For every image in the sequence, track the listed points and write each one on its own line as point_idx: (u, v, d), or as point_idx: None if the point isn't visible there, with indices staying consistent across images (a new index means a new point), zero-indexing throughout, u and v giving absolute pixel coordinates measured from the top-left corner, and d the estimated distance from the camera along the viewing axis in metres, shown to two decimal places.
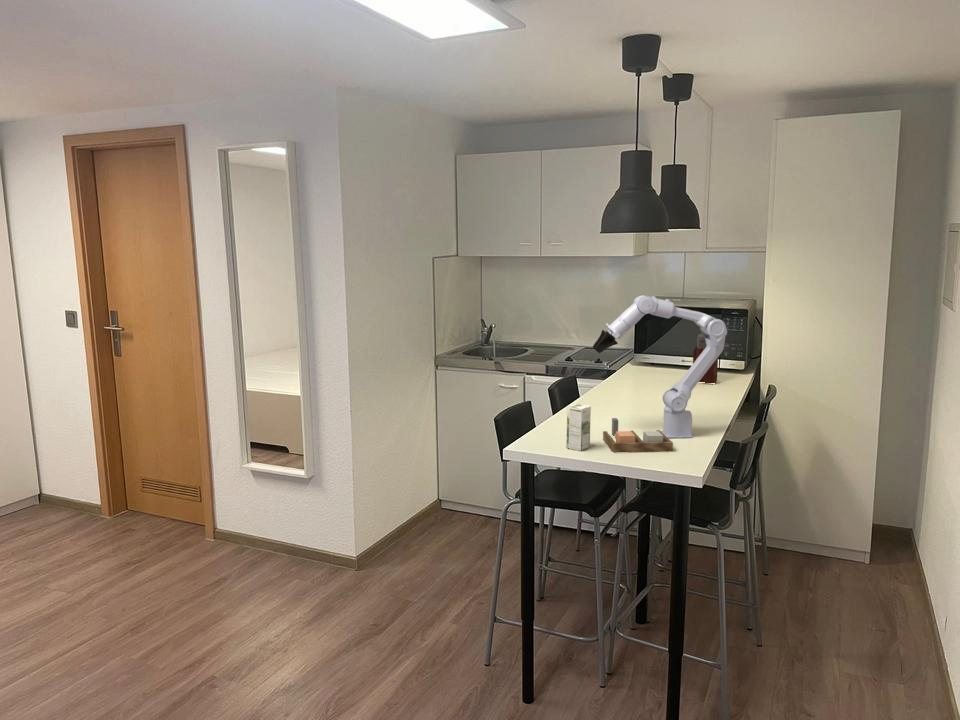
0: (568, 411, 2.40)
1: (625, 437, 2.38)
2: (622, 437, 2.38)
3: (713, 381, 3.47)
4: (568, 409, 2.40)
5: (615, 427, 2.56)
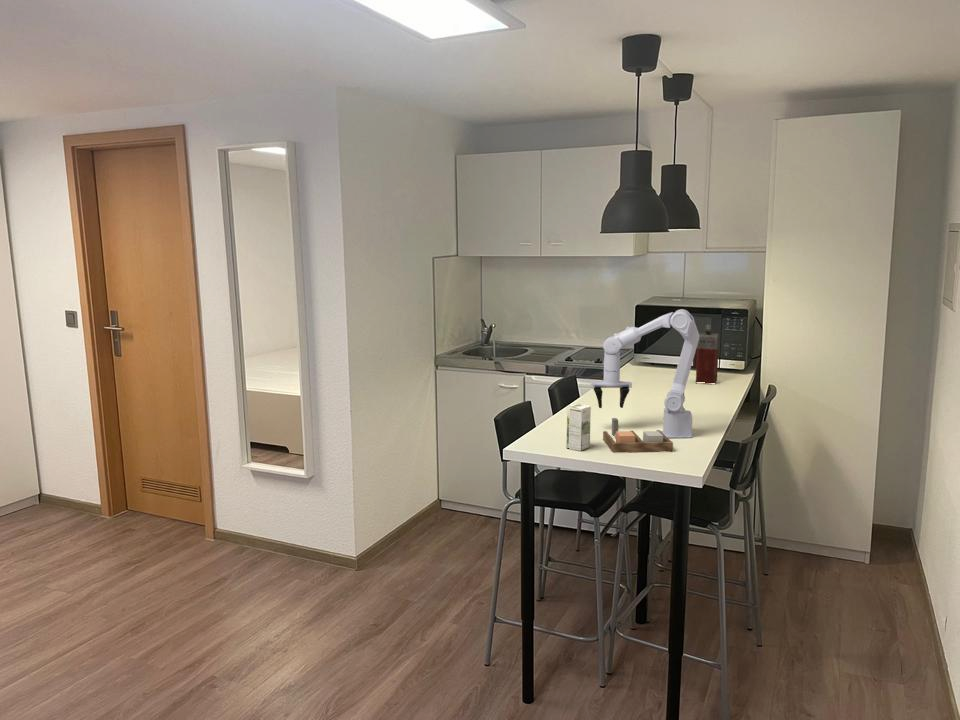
0: (568, 411, 2.40)
1: (625, 437, 2.38)
2: (622, 437, 2.38)
3: (713, 381, 3.47)
4: (568, 409, 2.40)
5: (615, 427, 2.56)
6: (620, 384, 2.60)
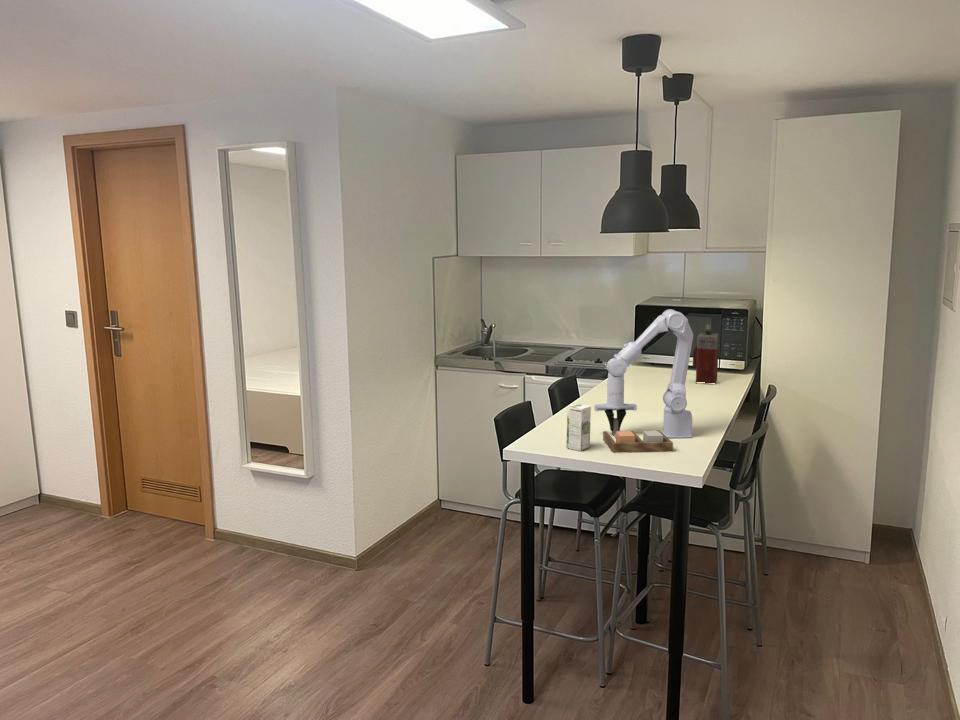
0: (568, 411, 2.40)
1: (625, 437, 2.38)
2: (622, 437, 2.38)
3: (713, 381, 3.47)
4: (568, 409, 2.40)
5: (615, 427, 2.56)
6: (624, 407, 2.54)
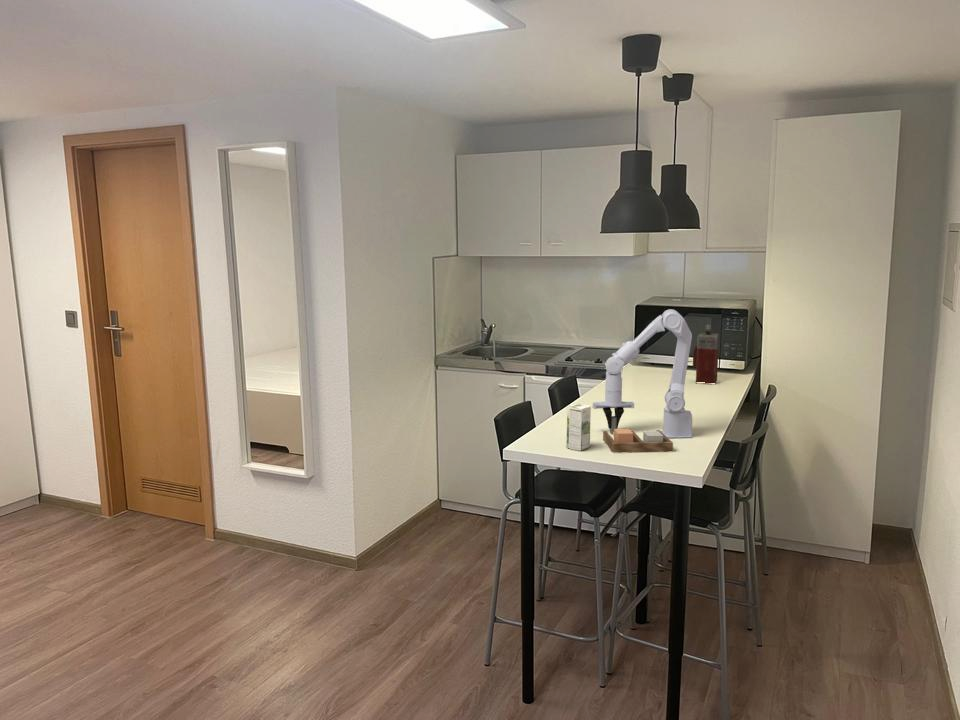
0: (568, 411, 2.40)
1: (623, 435, 2.41)
2: (620, 435, 2.41)
3: (713, 381, 3.47)
4: (568, 409, 2.40)
5: (613, 425, 2.59)
6: (622, 405, 2.57)
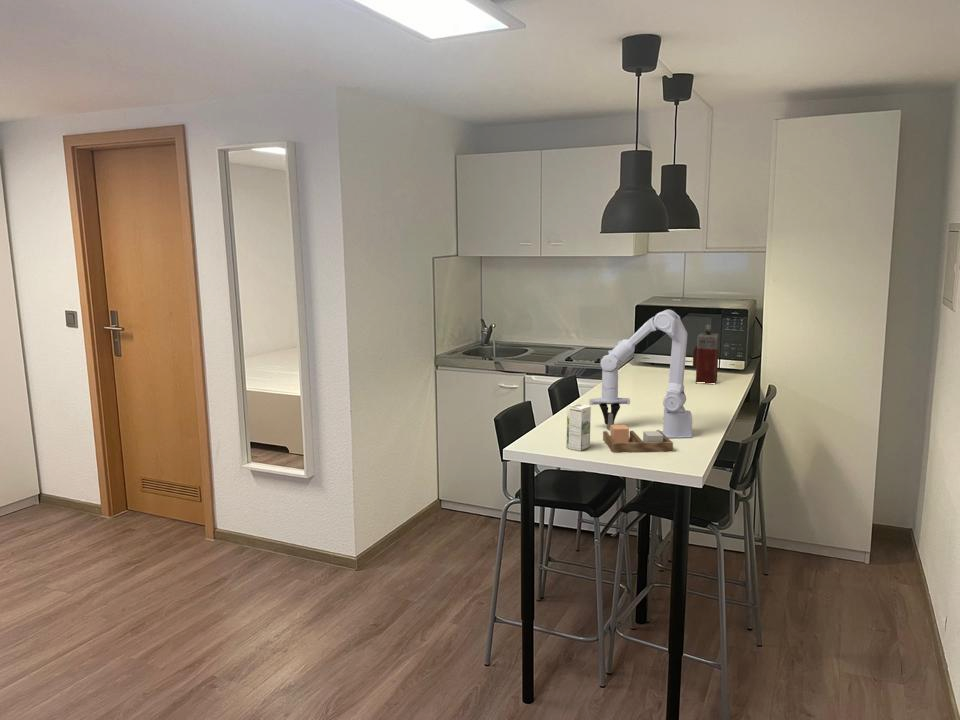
0: (568, 411, 2.40)
1: (619, 430, 2.47)
2: (616, 430, 2.47)
3: (713, 381, 3.47)
4: (568, 409, 2.40)
5: (610, 421, 2.64)
6: (618, 401, 2.64)
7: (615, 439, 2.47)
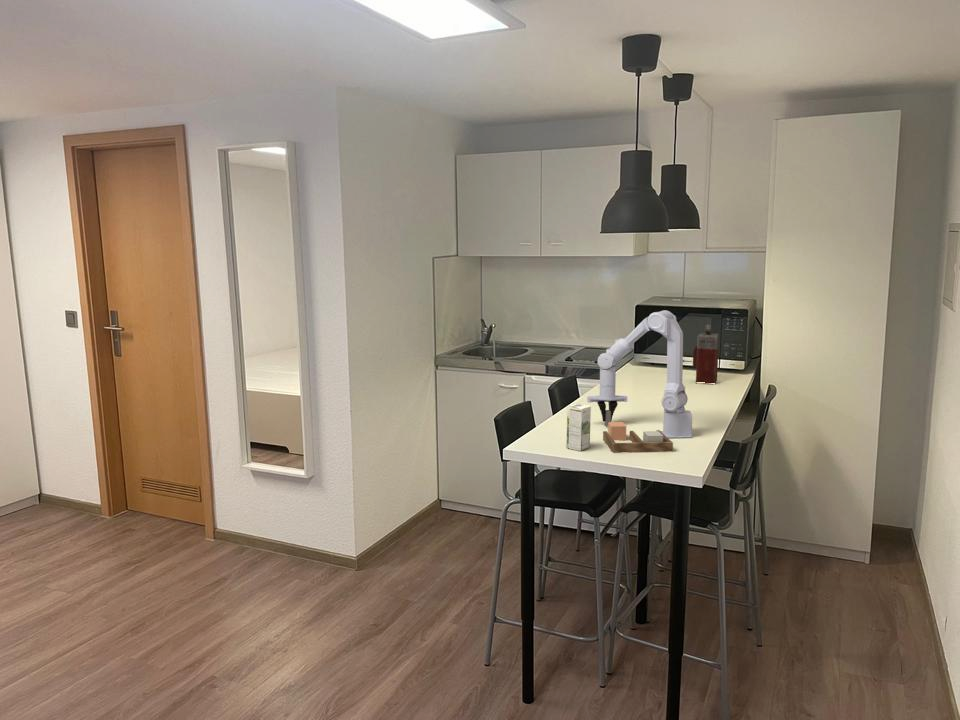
0: (568, 411, 2.40)
1: (617, 427, 2.51)
2: (614, 427, 2.51)
3: (713, 381, 3.47)
4: (568, 409, 2.40)
5: (608, 418, 2.68)
6: (616, 398, 2.68)
7: (613, 436, 2.51)
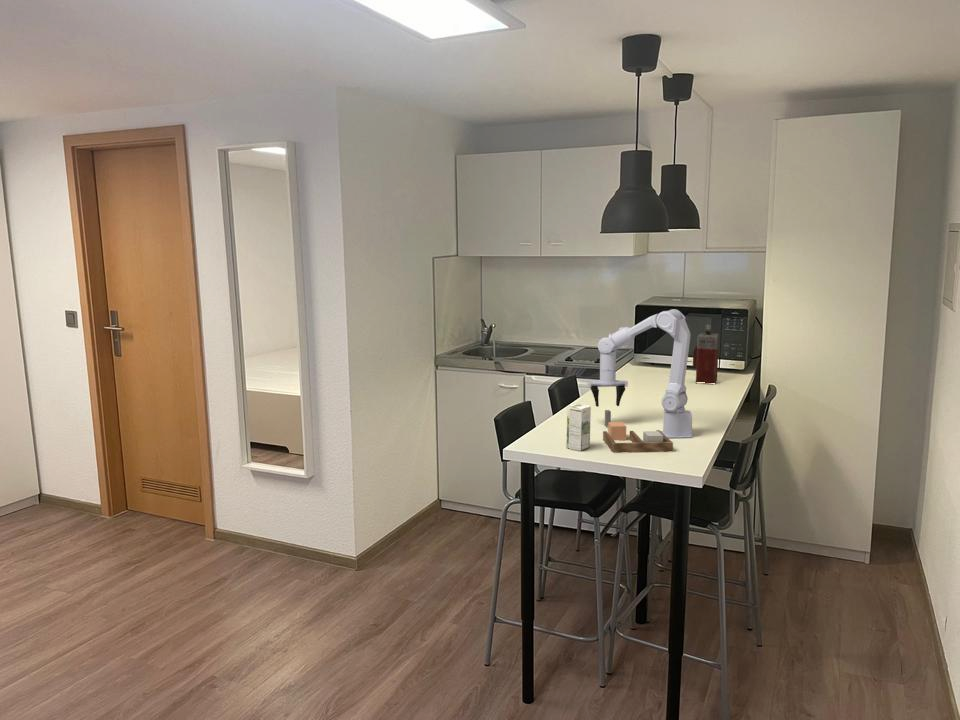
0: (568, 411, 2.40)
1: (617, 427, 2.51)
2: (614, 427, 2.51)
3: (713, 381, 3.47)
4: (568, 409, 2.40)
5: (608, 418, 2.68)
6: (616, 383, 2.67)
7: (613, 436, 2.51)
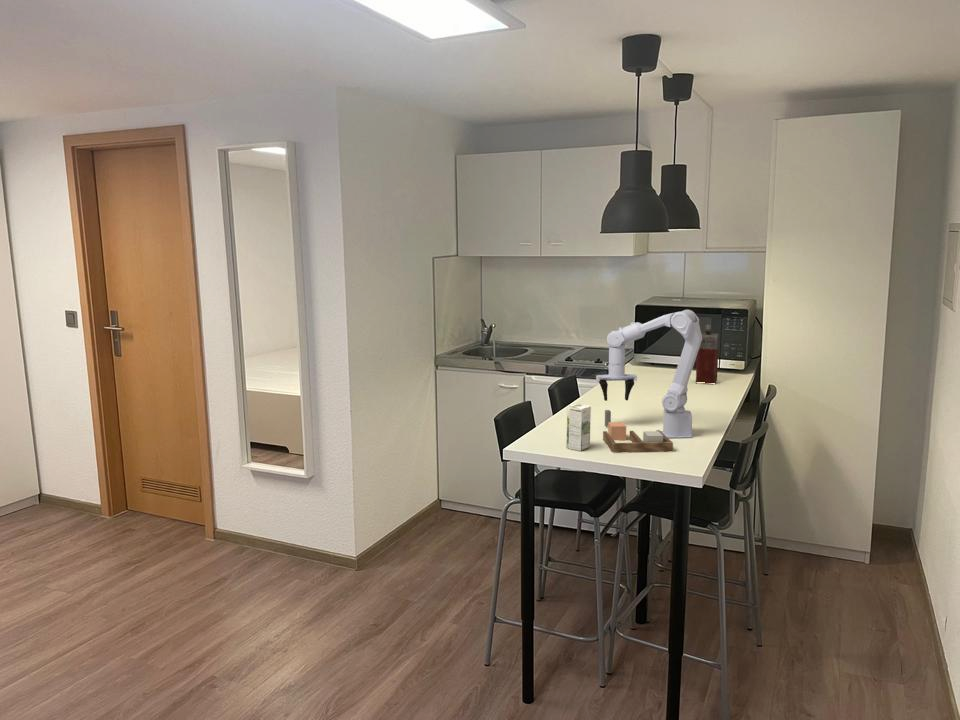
0: (568, 411, 2.40)
1: (617, 427, 2.51)
2: (614, 427, 2.51)
3: (713, 381, 3.47)
4: (568, 409, 2.40)
5: (608, 418, 2.68)
6: (625, 377, 2.64)
7: (613, 436, 2.51)
